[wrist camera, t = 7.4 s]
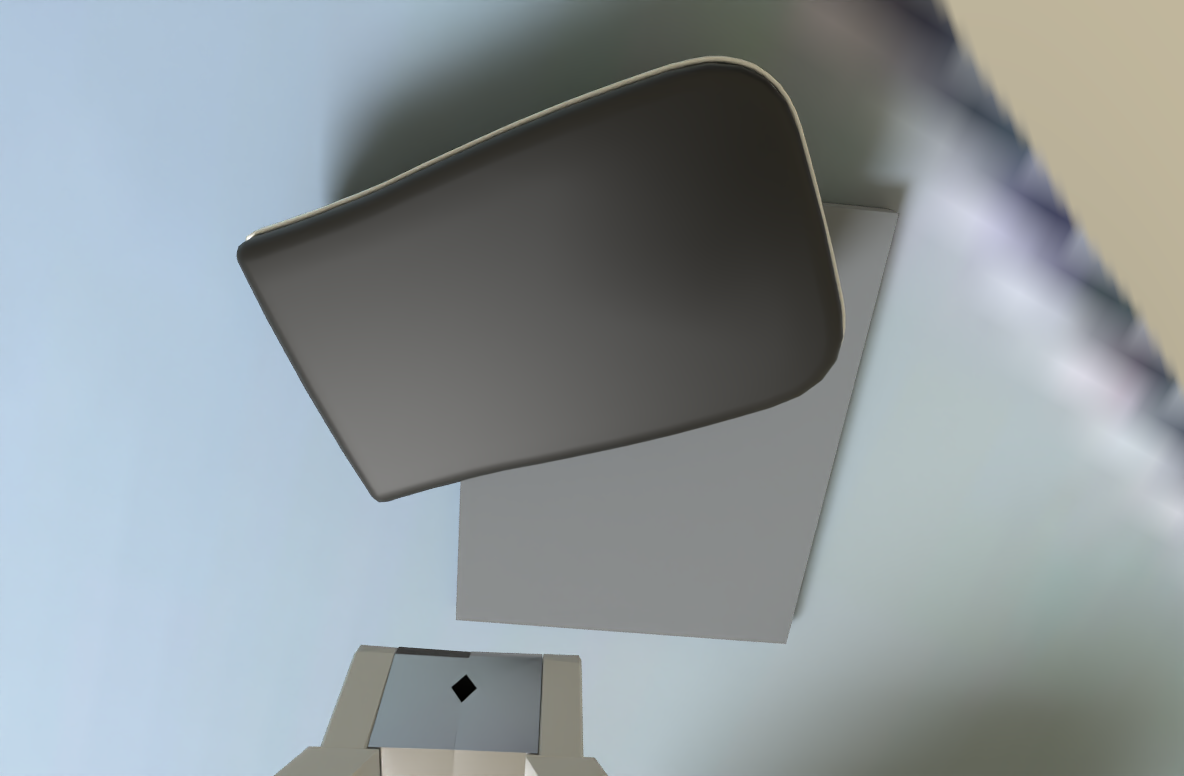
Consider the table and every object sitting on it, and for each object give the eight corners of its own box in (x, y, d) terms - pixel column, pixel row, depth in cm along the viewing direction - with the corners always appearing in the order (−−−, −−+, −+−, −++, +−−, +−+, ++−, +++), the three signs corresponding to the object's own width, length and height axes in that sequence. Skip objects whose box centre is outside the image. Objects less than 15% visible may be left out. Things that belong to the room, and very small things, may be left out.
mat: (459, 606, 22) (455, 620, 22) (475, 166, 17) (471, 169, 17) (780, 630, 23) (785, 643, 22) (889, 209, 18) (899, 213, 17)
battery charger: (424, 438, 21) (839, 324, 18) (370, 520, 17) (871, 396, 14) (302, 201, 18) (763, 19, 15) (209, 242, 15) (781, 18, 12)
